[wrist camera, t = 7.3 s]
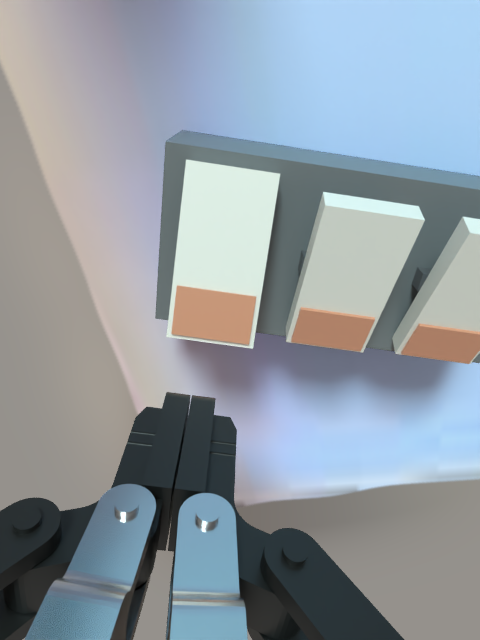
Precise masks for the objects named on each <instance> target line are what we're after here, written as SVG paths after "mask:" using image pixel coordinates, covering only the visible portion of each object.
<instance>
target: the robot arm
mask: <svg viewBox="0 0 480 640" xmlns="http://www.w3.org/2000/svg"><path fill="white" fill-rule="evenodd" d="M189 404H190V395H185V394H177V393H170V392H167V393H166V396H165V400H164V404H163V407H162V409H160V408H153V407H146V408H145V409H144V410H143V411H142V412H141V413H140V414H139V415H138V416H137V417H136V418H135V421H134V424H133V427H132V430H131V433H130V436H129V439H128V442H127V445H126V447H125V450H124V454H123V456H122V459H121V462H120V465H119V468H118V471H117V474H116V477H115V480H114V483H113V485H112V488H111V489H110V490H108V491H107V492H106V493H105V494H104V495H103V496H102V497H101V498H100V500H99V501H97V502H96V503H94V504H92V505H89V506H86V507H82V508H77V509H71V510H65V511H59V509H58V507H57V506H56V505H55V504H54V503H53V502H51V501H49V500H47V499H43V498H28V499H24V500H20V501H18V502H16V503H14V504H12V505H10V506H8V507H6V508H5V509H3V510H1V511H0V640H22V639H23V638H25V637H26V638H25V640H133V638H134V634H135V631H136V627H137V624H138V620H139V617H140V613H141V610H142V606H143V603H144V599H145V595H146V592H147V588H148V584H149V581H150V575H151V573H152V570H153V567H154V562H155V557H156V552H157V550H164V551H165V550H166V544H167V539H168V534H169V528H170V523H171V528H170V538H169V547H168V551H174V557H173V566H172V574H171V582H170V594H169V605H168V617H167V630H166V640H248V639H247V629H248V632H249V634H250V636H251V638H252V640H404V639H403V638H402V637H401V636H400V634H399V633H398V632H397V631H396V630H395V629H394V628H393V627H392V626H391V624H390V623H389V622H388V621H387V620H386V619H385V618H384V617H383V616H382V615H381V613H379V611H378V610H377V609H376V608H375V607H374V606H373V605H372V603H371V602H370V601H369V600H368V599H367V598H366V597H365V596H364V595H363V593H362V592H361V591H360V590H359V589H358V588H357V587H356V586H355V585H354V584H353V582H352V581H351V580H350V579H349V578H348V577H347V576H346V575H345V573H344V572H343V571H342V570H341V569H340V568H339V567H338V566H337V565H336V564H335V562H334V561H333V560H332V559H331V558H330V557H329V556H328V555H327V554H326V552H325V551H324V550H323V549H322V548H321V547H320V546H319V545H318V543H317V542H316V541H315V540H314V539H313V538H312V537H310V536H309V535H308V534H306V533H304V532H303V531H300V530H297V529H293V528H283V529H279V530H277V531H275V532H273V533H272V534H271V535H270V534H268V533H265V532H263V531H261V530H259V529H256V528H254V527H252V526H251V525H249V524H247V523H246V522H245V521H244V520H243V519H242V517H241V516H240V515H239V514H238V512H237V510H236V507H235V504H234V484H235V459H236V457H235V456H236V434H237V430H236V428H235V426H234V424H233V422H232V420H231V418H230V417H224V416H216V415H214V407H215V398H209V397H201V396H194V395H192V399H191V404H190V410H189ZM188 413H189V415H188ZM171 517H172V519H171Z"/></svg>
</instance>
